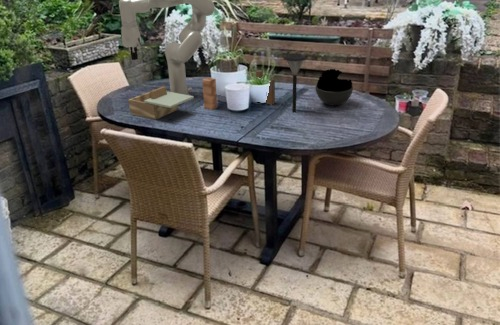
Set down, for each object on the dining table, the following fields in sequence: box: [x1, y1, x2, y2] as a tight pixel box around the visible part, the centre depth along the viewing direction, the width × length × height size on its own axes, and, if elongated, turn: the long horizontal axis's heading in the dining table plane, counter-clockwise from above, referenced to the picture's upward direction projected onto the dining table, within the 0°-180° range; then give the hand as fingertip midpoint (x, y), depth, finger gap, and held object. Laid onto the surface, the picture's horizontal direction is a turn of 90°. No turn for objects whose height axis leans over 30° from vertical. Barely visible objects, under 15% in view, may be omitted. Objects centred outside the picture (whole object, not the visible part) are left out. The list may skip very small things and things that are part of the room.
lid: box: [144, 85, 194, 108], centre depth 232 cm, size 18×18×5 cm
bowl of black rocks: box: [315, 68, 354, 106], centre depth 241 cm, size 20×20×19 cm
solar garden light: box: [282, 53, 308, 113], centre depth 230 cm, size 12×12×30 cm
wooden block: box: [255, 69, 276, 105], centre depth 247 cm, size 4×11×18 cm, turn 60°
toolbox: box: [128, 91, 179, 121], centre depth 241 cm, size 18×18×8 cm
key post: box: [201, 77, 218, 111], centre depth 242 cm, size 5×5×16 cm
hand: (134, 59), depth 241 cm, fingers closed
